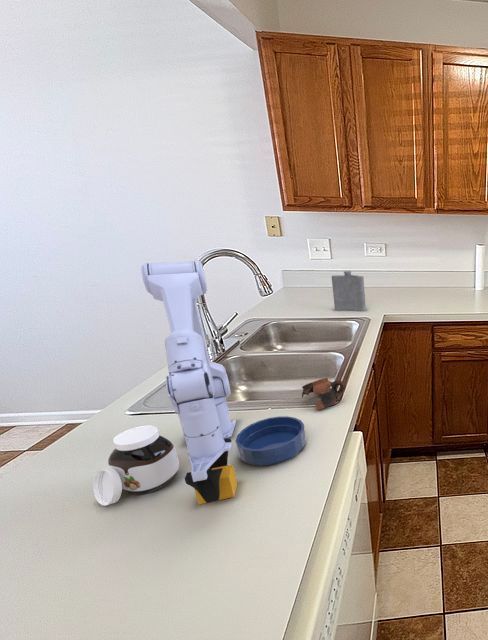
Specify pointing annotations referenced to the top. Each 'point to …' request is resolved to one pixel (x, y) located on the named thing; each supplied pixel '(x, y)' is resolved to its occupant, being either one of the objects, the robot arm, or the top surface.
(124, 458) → the spread jar
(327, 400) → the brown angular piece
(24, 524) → the top surface
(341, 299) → the hip flask
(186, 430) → the robot arm
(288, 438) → the bowl
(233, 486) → the sponge
